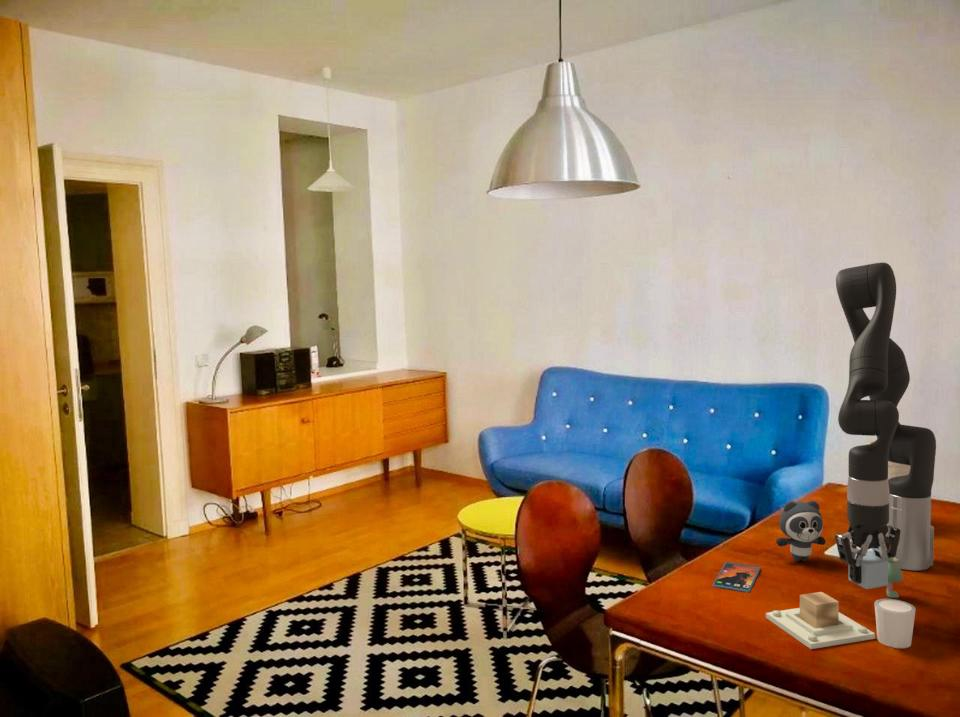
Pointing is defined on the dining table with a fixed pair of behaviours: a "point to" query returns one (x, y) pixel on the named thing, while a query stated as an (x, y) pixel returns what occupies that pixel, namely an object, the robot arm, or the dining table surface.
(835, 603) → the tan wooden cube
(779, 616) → the baseplate
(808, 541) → the toy
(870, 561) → the grey cube
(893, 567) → the toy
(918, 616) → the dining table surface
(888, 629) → the white cup
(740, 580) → the smartphone
